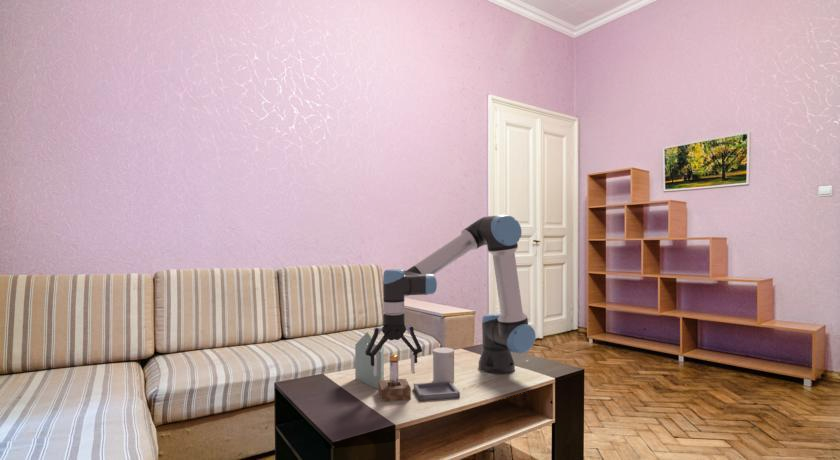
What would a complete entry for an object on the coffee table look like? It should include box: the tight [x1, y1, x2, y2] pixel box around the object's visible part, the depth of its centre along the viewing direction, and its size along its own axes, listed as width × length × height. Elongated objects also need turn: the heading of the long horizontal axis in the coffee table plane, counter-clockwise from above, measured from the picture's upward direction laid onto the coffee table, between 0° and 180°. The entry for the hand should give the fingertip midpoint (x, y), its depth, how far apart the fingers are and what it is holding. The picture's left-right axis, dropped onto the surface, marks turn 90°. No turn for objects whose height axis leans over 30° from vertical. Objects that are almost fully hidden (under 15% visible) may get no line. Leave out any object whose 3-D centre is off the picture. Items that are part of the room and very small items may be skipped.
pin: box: [389, 354, 399, 386], centre depth 156 cm, size 3×3×14 cm
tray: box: [413, 381, 461, 402], centre depth 158 cm, size 14×12×2 cm
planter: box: [354, 331, 385, 390], centre depth 171 cm, size 16×8×20 cm, turn 41°
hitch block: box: [377, 378, 412, 403], centre depth 156 cm, size 10×10×4 cm
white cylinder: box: [432, 347, 455, 384], centre depth 171 cm, size 8×8×12 cm
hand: (394, 373), depth 156 cm, fingers open, 13 cm apart
